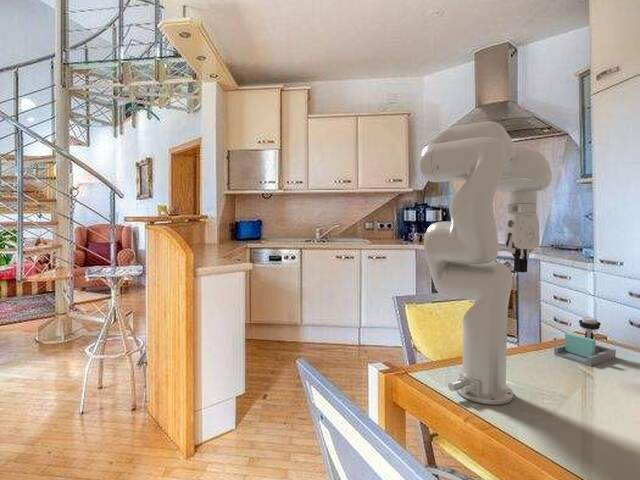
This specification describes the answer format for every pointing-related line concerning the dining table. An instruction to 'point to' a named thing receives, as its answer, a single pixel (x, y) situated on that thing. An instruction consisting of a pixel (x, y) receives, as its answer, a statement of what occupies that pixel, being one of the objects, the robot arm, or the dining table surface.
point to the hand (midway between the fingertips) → (520, 271)
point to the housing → (598, 357)
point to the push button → (589, 326)
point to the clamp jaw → (579, 345)
